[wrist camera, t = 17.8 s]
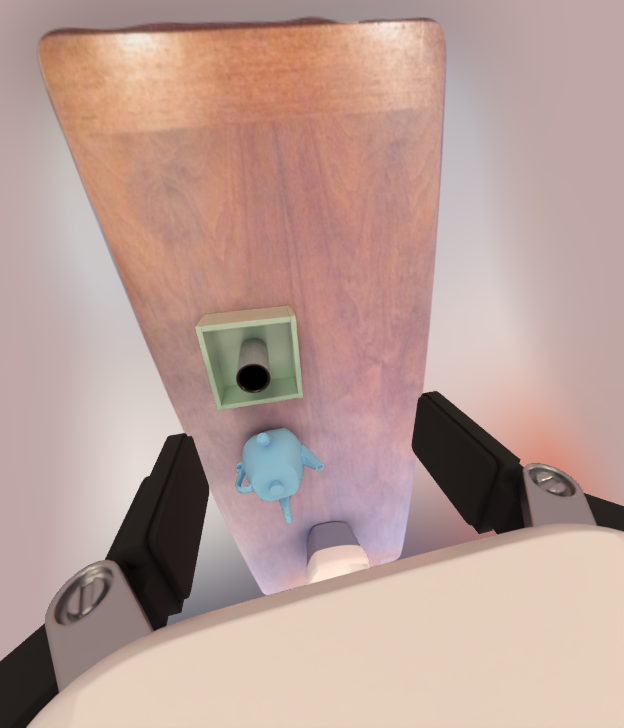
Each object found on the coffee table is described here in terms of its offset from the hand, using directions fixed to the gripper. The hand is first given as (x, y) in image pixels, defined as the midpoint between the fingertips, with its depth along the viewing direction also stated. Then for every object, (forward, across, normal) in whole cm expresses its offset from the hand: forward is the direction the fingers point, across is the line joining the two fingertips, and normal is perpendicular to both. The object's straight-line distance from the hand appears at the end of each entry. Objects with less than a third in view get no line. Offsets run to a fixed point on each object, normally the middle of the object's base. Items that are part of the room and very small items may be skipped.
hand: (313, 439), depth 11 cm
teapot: (+34, +3, +31) cm, 46 cm away
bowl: (+34, -7, +66) cm, 75 cm away
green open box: (+34, +4, +9) cm, 36 cm away
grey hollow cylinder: (+34, +4, +9) cm, 35 cm away
